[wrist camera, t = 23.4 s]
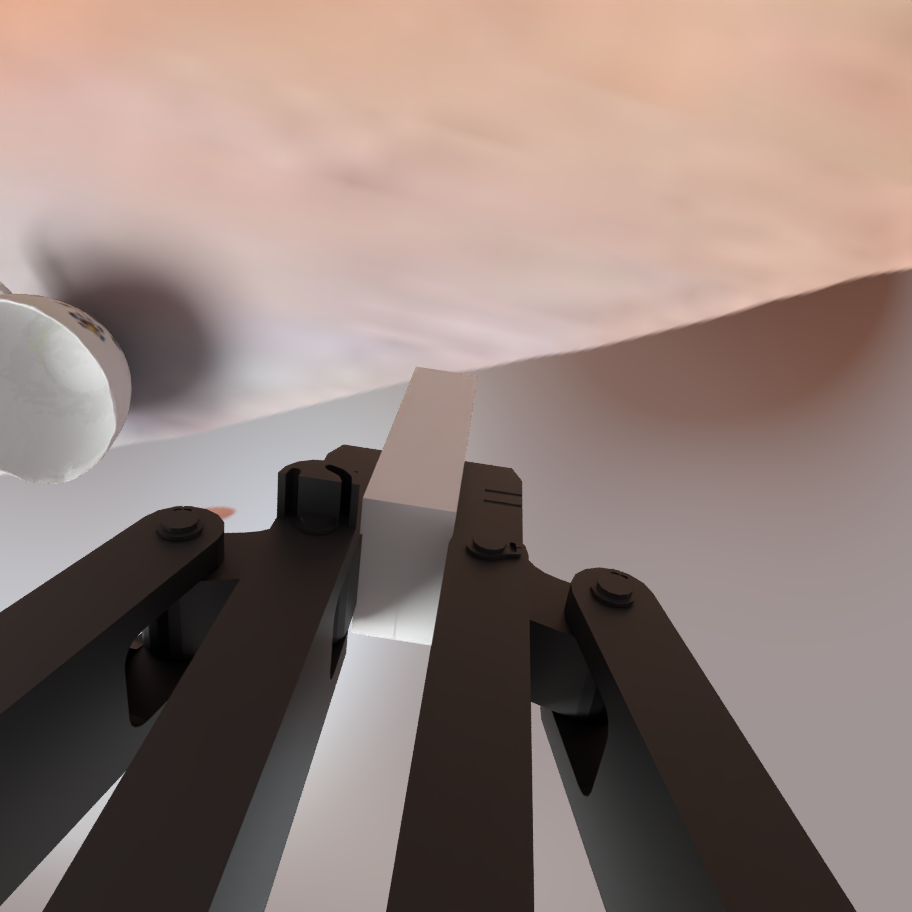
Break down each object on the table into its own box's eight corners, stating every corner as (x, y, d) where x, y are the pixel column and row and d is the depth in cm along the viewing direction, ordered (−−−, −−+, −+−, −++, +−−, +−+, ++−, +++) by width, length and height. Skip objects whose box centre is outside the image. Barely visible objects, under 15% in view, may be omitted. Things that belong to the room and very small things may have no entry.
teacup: (201, 396, 54) (152, 440, 46) (76, 461, 57) (12, 511, 50) (70, 207, 48) (-9, 223, 41) (-60, 291, 52) (-153, 319, 45)
